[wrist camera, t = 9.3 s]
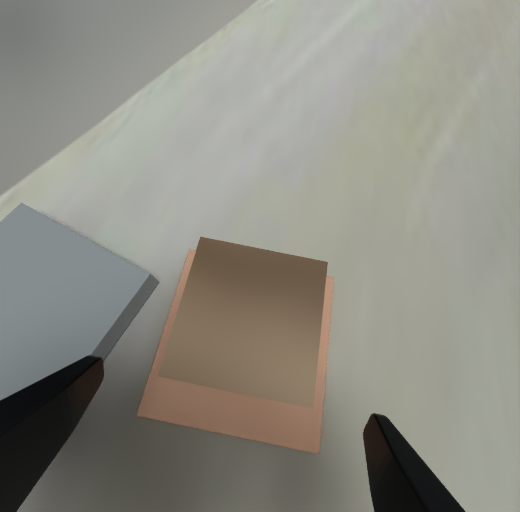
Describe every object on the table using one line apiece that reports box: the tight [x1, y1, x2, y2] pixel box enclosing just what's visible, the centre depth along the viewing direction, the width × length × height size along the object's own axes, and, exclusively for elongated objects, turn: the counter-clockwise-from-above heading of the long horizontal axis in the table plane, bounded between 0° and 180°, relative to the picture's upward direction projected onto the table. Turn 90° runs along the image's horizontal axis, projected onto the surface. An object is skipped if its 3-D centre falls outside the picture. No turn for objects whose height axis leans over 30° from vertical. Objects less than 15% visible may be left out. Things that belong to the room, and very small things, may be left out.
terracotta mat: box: [136, 249, 334, 454], centre depth 18 cm, size 11×11×1 cm
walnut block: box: [157, 237, 328, 409], centre depth 13 cm, size 4×4×10 cm
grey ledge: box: [0, 203, 159, 400], centre depth 17 cm, size 11×11×2 cm
